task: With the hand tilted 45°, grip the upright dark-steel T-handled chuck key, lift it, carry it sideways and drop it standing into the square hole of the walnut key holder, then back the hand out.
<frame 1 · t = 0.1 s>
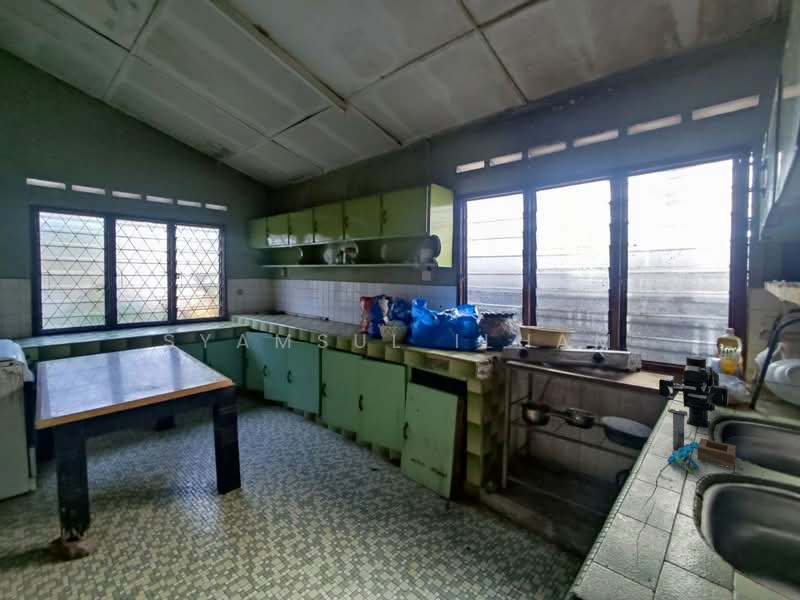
hand: (688, 398, 120), 17 cm above the countertop, tool horizontal, fingers open, 9 cm apart
key holder: (716, 458, 113), on the countertop
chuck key: (678, 449, 119), on the countertop
blue lumpy figure: (682, 465, 110), on the countertop
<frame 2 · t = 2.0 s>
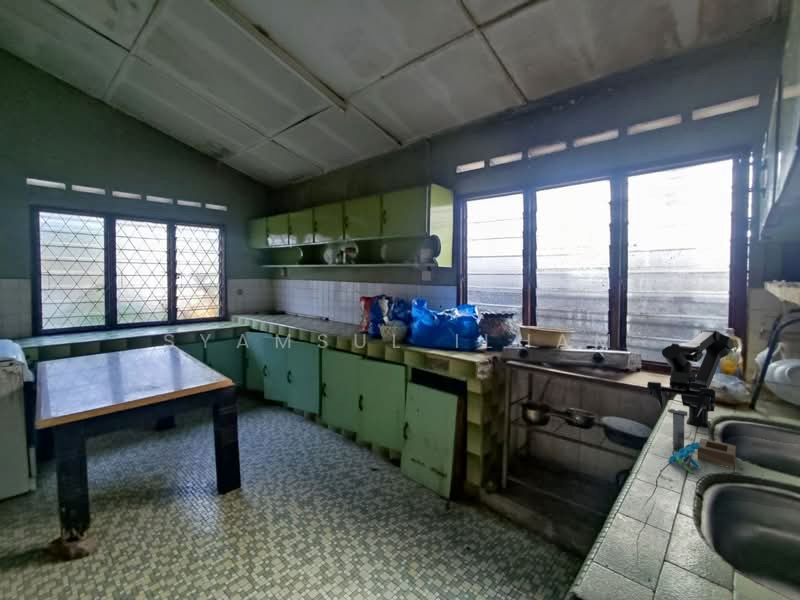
hand: (678, 413, 122), 11 cm above the countertop, tool tilted 45°, fingers open, 9 cm apart
nothing on the countertop moved.
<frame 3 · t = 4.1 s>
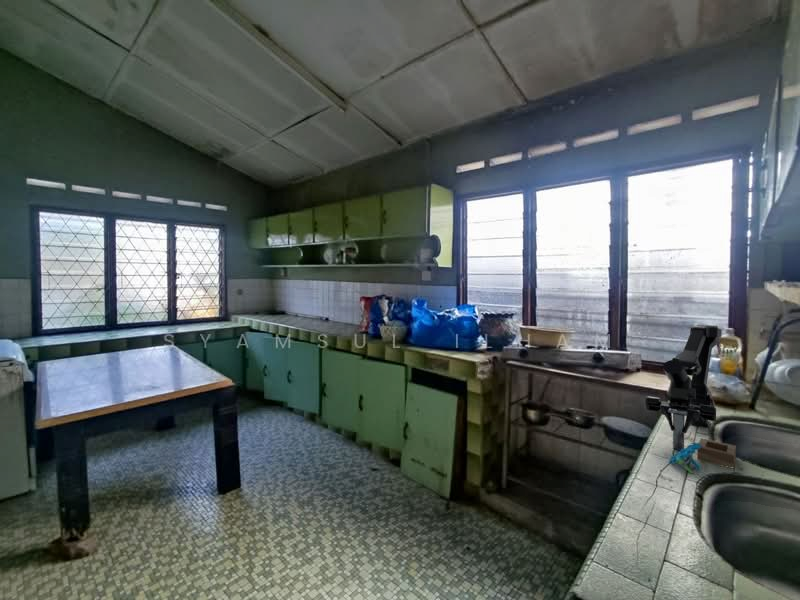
hand: (678, 431, 118), 7 cm above the countertop, tool tilted 45°, fingers closed on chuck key, 3 cm apart
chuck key: (678, 449, 119), on the countertop, touching gripper
everything else where it was.
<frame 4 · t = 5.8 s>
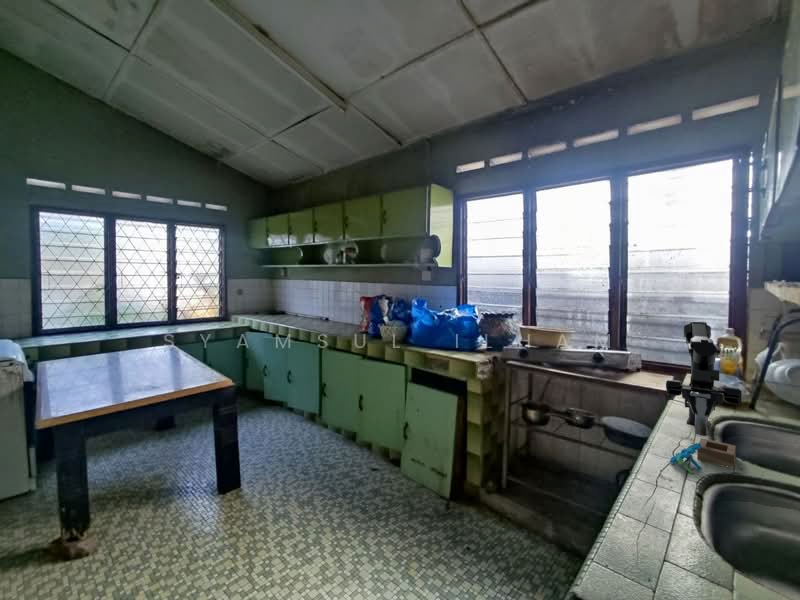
hand: (701, 415, 114), 13 cm above the countertop, tool tilted 45°, fingers closed on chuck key, 3 cm apart
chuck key: (700, 433, 115), point 7 cm above the countertop, touching gripper
everything else where it was.
when the fingers open (8 cm above the countertop, at t = 7.7 s): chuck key drops 1 cm, resting in key holder.
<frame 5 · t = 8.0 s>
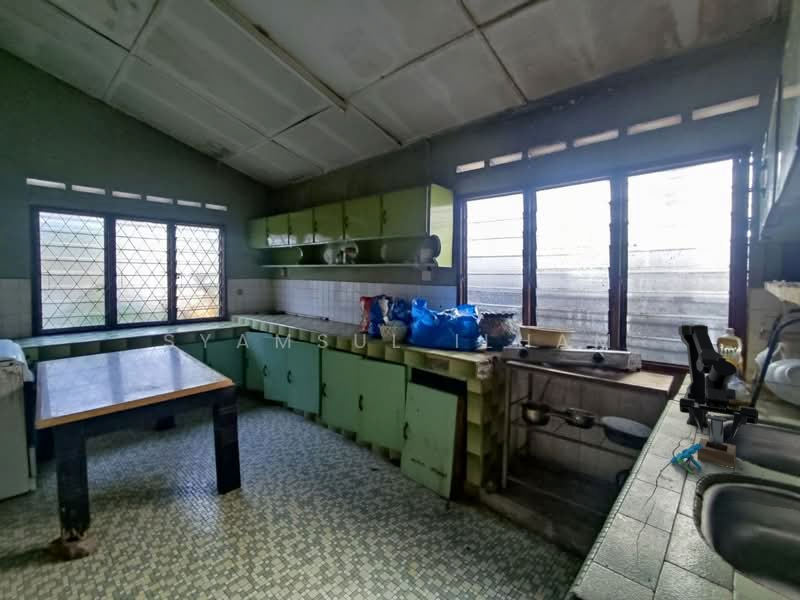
hand: (716, 435, 111), 8 cm above the countertop, tool tilted 45°, fingers open, 7 cm apart
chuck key: (716, 457, 113), resting in key holder
everything else where it was.
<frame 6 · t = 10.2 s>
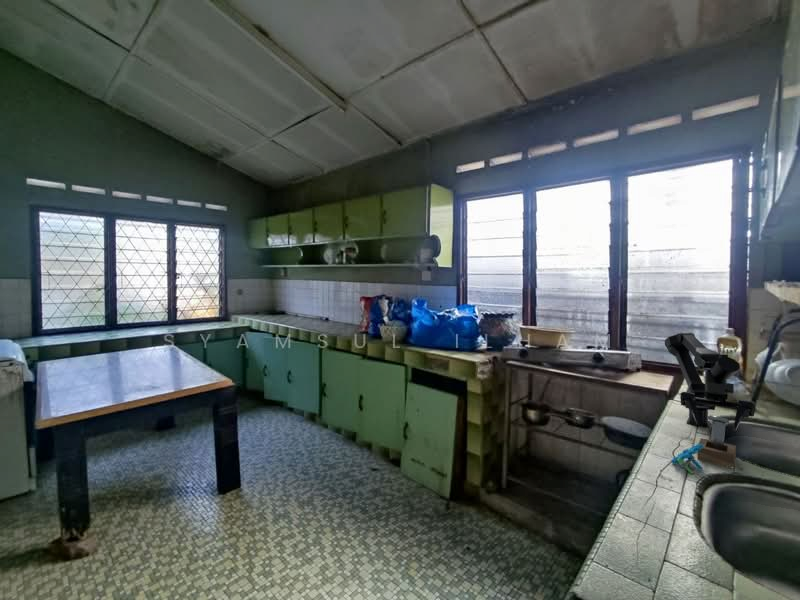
hand: (715, 426, 117), 8 cm above the countertop, tool tilted 45°, fingers open, 9 cm apart
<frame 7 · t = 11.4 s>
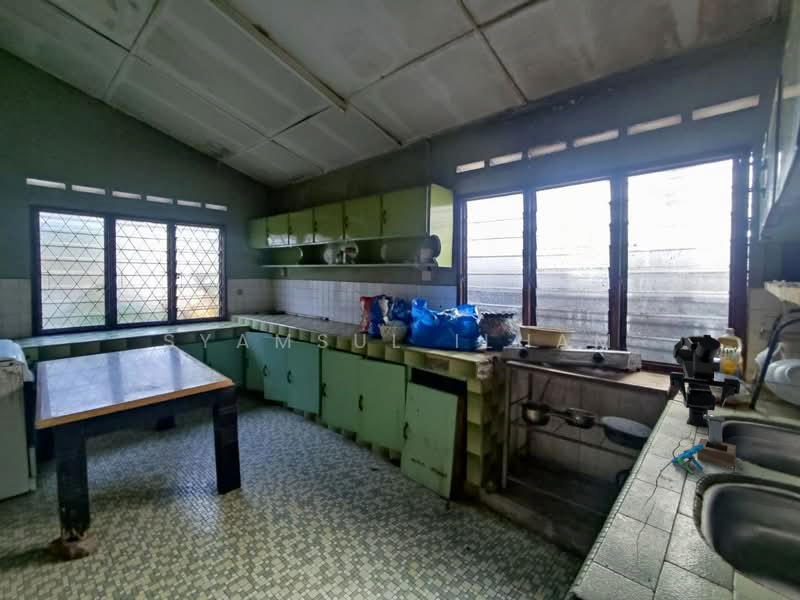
hand: (703, 404, 122), 14 cm above the countertop, tool tilted 45°, fingers open, 9 cm apart
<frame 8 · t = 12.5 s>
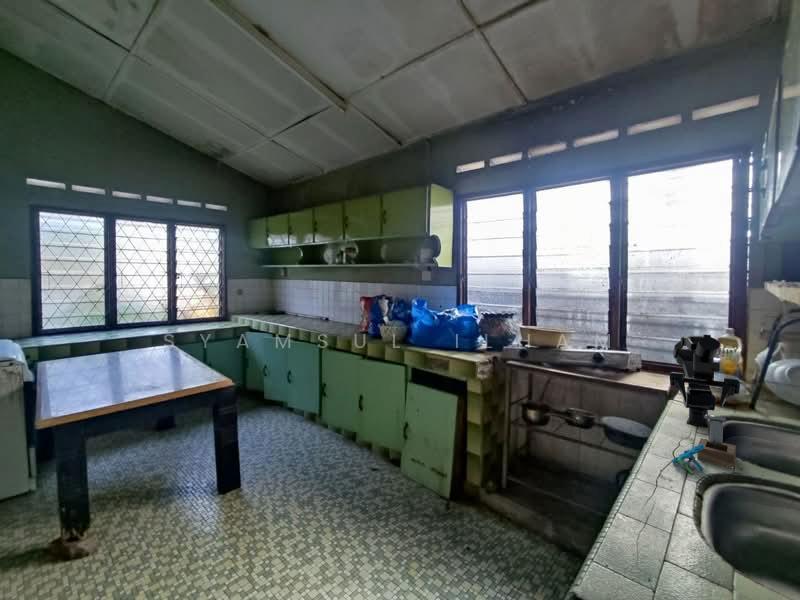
hand: (702, 404, 122), 14 cm above the countertop, tool tilted 45°, fingers open, 9 cm apart
at the end: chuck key 0.4 cm off-centre on the key holder, point 0.0 cm above the key holder's base; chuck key tilted 1°; the gripper is holding nothing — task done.
